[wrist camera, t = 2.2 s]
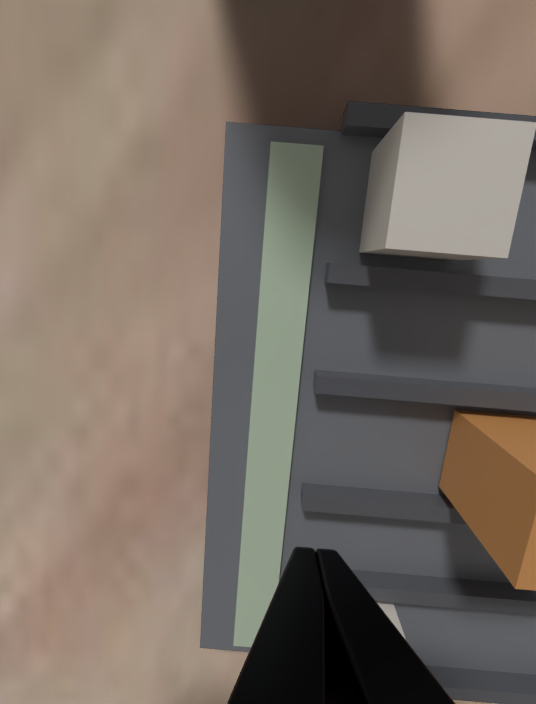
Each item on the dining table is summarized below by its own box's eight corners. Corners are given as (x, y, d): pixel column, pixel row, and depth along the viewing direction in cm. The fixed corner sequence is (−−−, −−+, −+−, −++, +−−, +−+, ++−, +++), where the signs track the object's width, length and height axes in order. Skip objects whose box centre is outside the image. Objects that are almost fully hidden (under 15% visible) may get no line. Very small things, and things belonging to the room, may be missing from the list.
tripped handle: (540, 416, 13) (674, 492, 9) (520, 492, 14) (635, 599, 9) (454, 409, 13) (544, 481, 9) (438, 486, 14) (515, 588, 9)
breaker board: (803, 173, 13) (1117, 117, 8) (627, 650, 18) (760, 795, 13) (234, 127, 13) (209, 45, 8) (207, 614, 18) (181, 745, 13)
